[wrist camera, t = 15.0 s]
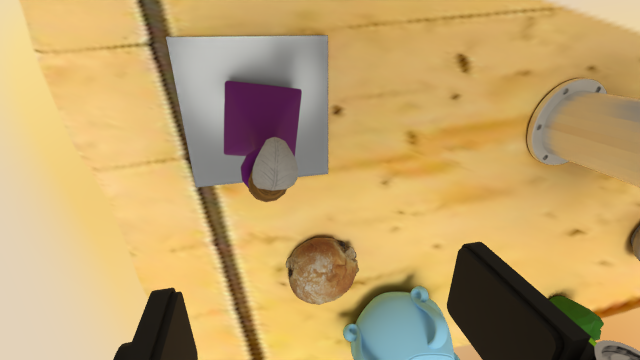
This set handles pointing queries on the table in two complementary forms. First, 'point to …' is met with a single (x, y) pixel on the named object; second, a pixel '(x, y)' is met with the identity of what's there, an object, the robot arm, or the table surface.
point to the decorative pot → (401, 329)
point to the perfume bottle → (263, 135)
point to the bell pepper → (580, 316)
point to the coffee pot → (636, 243)
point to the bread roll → (321, 270)
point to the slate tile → (258, 68)
